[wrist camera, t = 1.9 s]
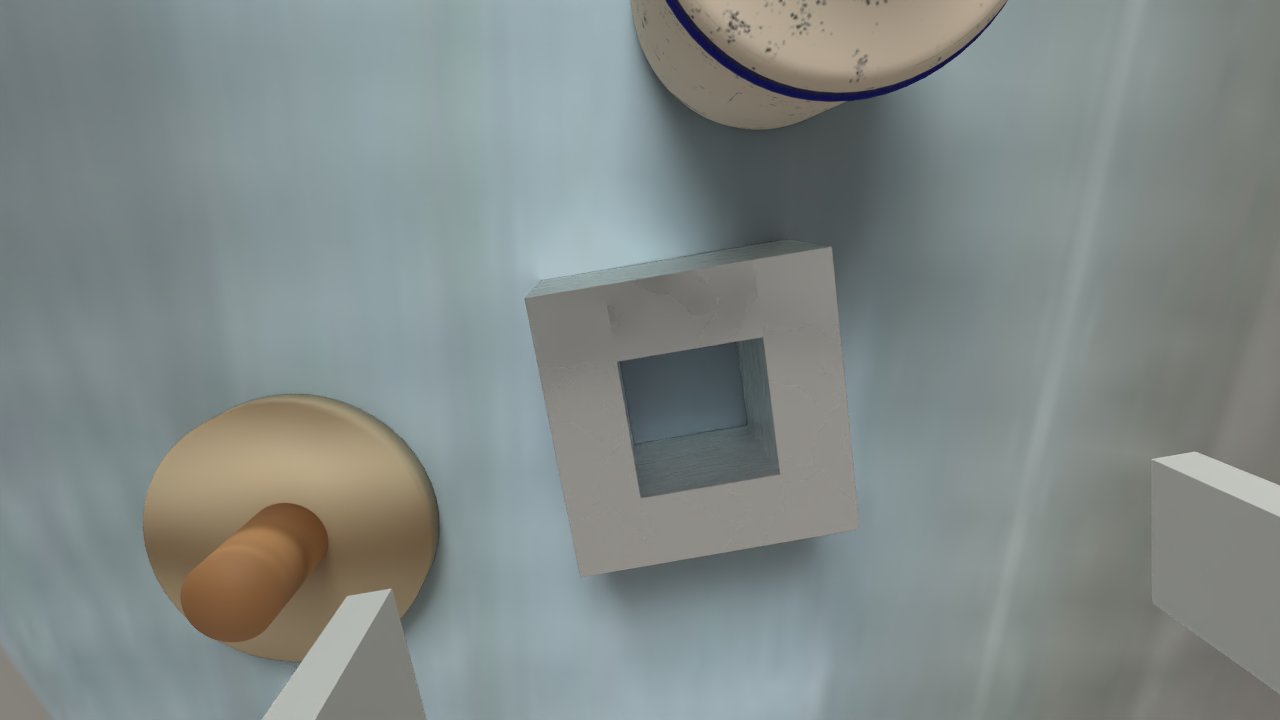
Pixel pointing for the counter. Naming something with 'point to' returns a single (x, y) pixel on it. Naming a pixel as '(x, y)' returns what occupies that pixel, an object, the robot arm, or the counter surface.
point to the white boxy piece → (711, 461)
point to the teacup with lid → (799, 51)
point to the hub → (287, 521)
